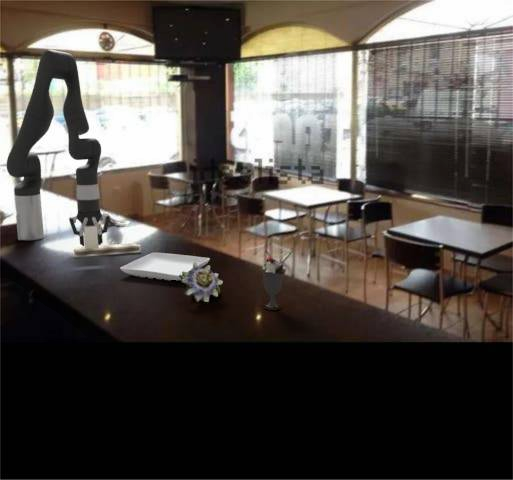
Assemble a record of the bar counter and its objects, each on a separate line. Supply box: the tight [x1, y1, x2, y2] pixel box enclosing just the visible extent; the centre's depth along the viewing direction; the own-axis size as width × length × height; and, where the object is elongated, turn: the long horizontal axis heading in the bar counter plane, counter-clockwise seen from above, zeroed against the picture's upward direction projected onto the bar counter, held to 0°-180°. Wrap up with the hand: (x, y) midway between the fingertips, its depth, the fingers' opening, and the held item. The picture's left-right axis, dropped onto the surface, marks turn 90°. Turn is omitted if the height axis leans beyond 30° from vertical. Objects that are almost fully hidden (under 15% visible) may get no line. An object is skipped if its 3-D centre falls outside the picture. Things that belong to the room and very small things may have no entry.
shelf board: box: [73, 242, 142, 258], centre depth 201 cm, size 22×14×3 cm, turn 109°
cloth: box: [100, 211, 131, 230], centre depth 249 cm, size 22×19×6 cm
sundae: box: [259, 250, 287, 308], centre depth 145 cm, size 7×7×15 cm
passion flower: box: [179, 262, 224, 303], centre depth 153 cm, size 11×11×12 cm
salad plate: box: [119, 252, 211, 281], centre depth 178 cm, size 21×21×3 cm
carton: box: [83, 225, 100, 249], centre depth 199 cm, size 6×4×9 cm
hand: (91, 245), depth 200 cm, fingers open, 5 cm apart
